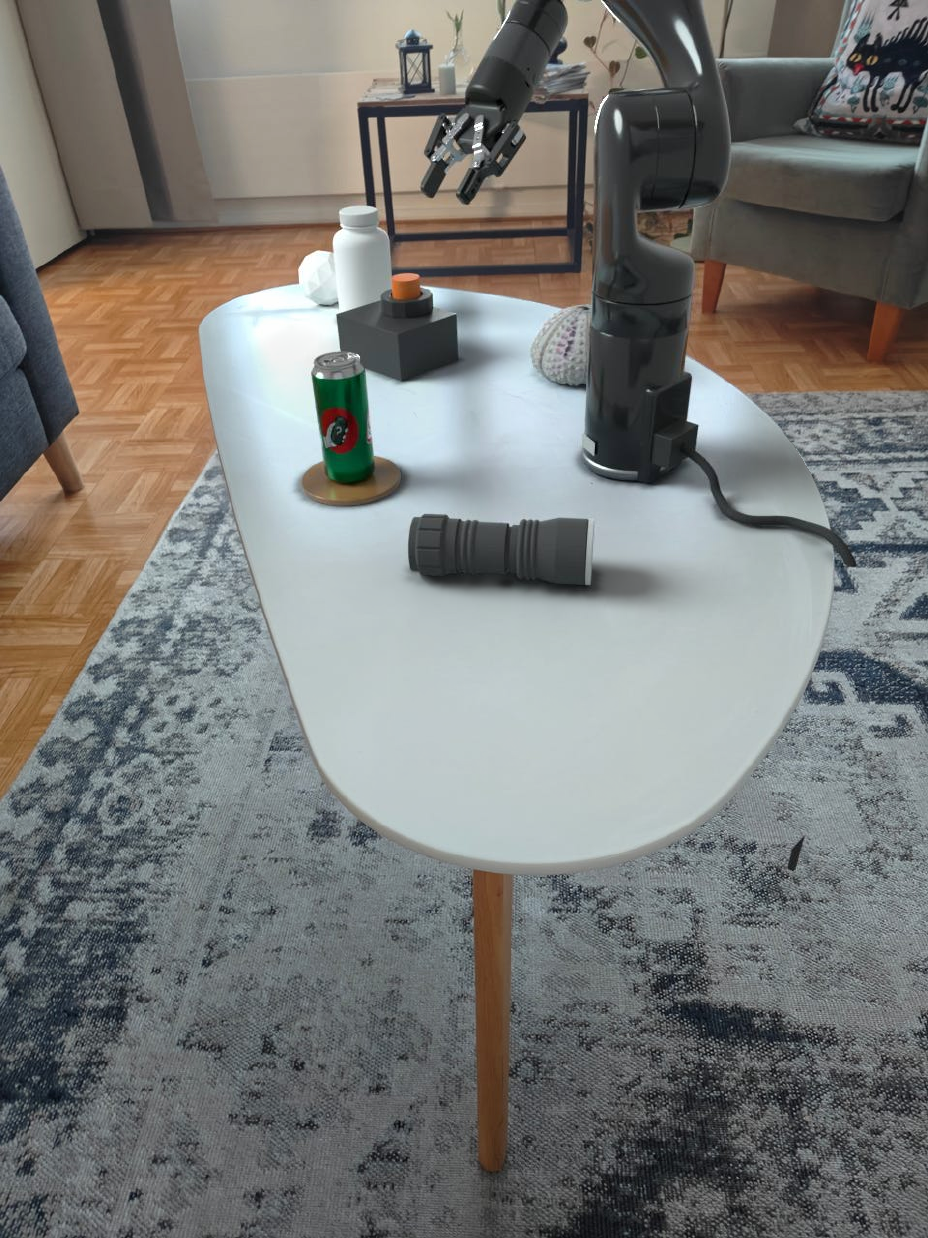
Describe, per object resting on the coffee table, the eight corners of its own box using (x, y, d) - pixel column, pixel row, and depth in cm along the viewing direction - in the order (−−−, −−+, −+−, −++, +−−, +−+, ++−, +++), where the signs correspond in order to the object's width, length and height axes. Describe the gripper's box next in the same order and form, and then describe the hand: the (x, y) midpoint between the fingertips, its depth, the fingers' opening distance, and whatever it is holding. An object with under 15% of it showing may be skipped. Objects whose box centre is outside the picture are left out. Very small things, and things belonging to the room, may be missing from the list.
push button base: (459, 359, 118) (457, 296, 113) (401, 382, 112) (396, 317, 107) (399, 339, 125) (394, 279, 120) (341, 359, 119) (334, 298, 114)
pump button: (426, 296, 115) (425, 276, 113) (405, 303, 113) (404, 282, 111) (407, 291, 117) (406, 271, 115) (386, 298, 115) (385, 277, 113)
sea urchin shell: (657, 381, 109) (663, 314, 105) (557, 400, 106) (559, 332, 101) (604, 346, 120) (608, 285, 115) (511, 363, 116) (511, 300, 111)
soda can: (384, 478, 90) (373, 361, 83) (337, 491, 88) (322, 373, 81) (362, 459, 94) (350, 345, 87) (317, 471, 92) (301, 356, 85)
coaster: (421, 479, 91) (421, 474, 90) (344, 516, 85) (343, 511, 85) (358, 450, 97) (357, 445, 96) (282, 483, 91) (281, 478, 91)
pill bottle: (392, 327, 129) (384, 215, 120) (337, 328, 129) (324, 216, 120) (397, 309, 135) (389, 201, 126) (344, 311, 135) (332, 203, 126)
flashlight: (405, 587, 75) (400, 531, 72) (417, 553, 80) (413, 499, 76) (589, 597, 73) (592, 541, 70) (592, 562, 77) (595, 506, 74)
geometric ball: (331, 315, 142) (345, 266, 142) (348, 310, 135) (363, 258, 135) (286, 297, 139) (300, 246, 138) (301, 290, 132) (316, 236, 131)
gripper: (451, 51, 113) (388, 171, 114) (537, 55, 105) (468, 184, 105) (481, 95, 119) (421, 208, 120) (565, 102, 111) (500, 224, 111)
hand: (443, 196), depth 113 cm, fingers open, 6 cm apart
